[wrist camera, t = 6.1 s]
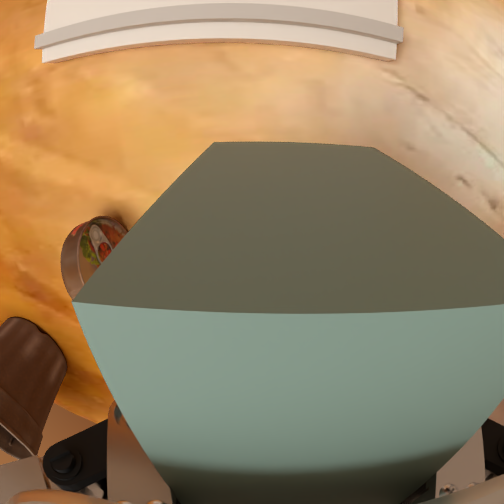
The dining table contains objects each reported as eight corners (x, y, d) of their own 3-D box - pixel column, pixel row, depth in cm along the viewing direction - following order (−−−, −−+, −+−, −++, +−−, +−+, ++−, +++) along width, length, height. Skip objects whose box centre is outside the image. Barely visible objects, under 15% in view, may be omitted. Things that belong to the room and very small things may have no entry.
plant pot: (-20, 306, 35) (-75, 375, 21) (38, 296, 33) (-32, 390, 19) (33, 380, 42) (-4, 450, 28) (98, 384, 40) (61, 475, 26)
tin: (178, 327, 33) (159, 388, 26) (153, 331, 34) (131, 389, 26) (115, 200, 27) (67, 242, 19) (89, 210, 27) (40, 253, 20)
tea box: (375, 147, 9) (565, 296, 2) (332, 383, 14) (352, 536, 7) (214, 142, 9) (70, 301, 2) (229, 382, 15) (210, 539, 8)
